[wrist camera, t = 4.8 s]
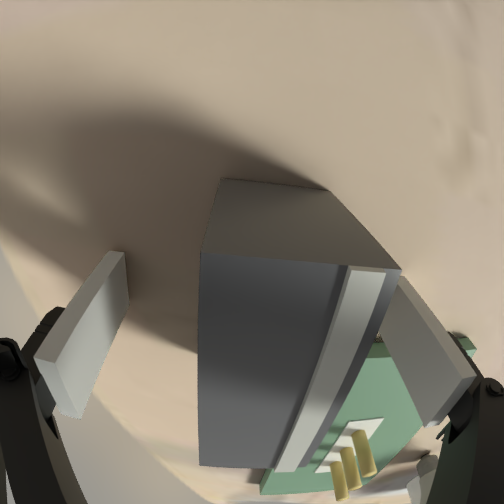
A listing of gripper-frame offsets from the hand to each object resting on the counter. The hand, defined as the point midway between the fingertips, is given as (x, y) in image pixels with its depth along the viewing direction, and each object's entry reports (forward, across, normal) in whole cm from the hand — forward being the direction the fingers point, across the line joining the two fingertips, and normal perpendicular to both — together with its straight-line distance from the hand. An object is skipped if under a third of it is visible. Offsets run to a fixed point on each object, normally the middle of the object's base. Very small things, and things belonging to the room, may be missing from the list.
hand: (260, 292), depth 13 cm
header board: (0, +8, -13) cm, 15 cm away
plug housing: (0, 0, 0) cm, 0 cm away
